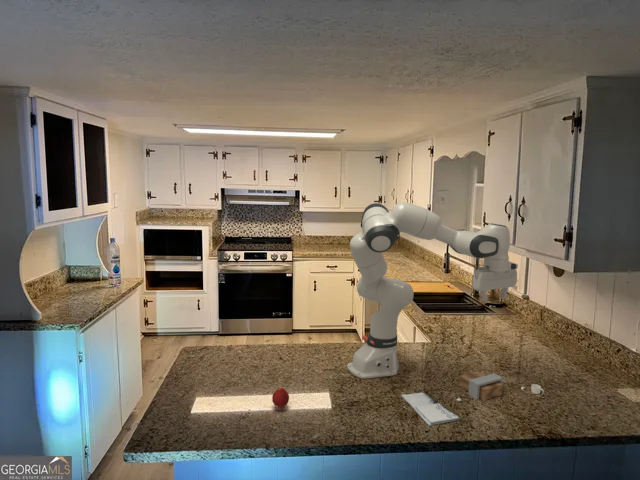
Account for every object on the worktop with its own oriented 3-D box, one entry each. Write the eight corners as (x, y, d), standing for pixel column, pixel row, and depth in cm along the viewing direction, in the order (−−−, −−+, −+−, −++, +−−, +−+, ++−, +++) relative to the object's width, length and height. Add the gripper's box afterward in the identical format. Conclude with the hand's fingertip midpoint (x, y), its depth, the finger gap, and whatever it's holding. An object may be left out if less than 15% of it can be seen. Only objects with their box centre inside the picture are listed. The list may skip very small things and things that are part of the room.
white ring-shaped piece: (516, 392, 156) (517, 382, 156) (532, 388, 159) (533, 378, 158) (536, 403, 148) (536, 393, 148) (552, 399, 151) (553, 389, 150)
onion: (280, 401, 148) (280, 380, 147) (292, 407, 144) (292, 385, 143) (269, 408, 144) (268, 387, 143) (280, 414, 140) (280, 392, 139)
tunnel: (476, 400, 148) (477, 384, 147) (468, 395, 151) (469, 379, 150) (501, 393, 153) (502, 377, 152) (493, 388, 156) (494, 373, 156)
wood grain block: (483, 400, 147) (484, 389, 146) (459, 385, 158) (459, 375, 157) (502, 395, 151) (502, 384, 150) (476, 380, 161) (477, 371, 161)
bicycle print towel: (429, 427, 134) (429, 421, 133) (400, 397, 153) (400, 391, 153) (479, 418, 139) (479, 412, 139) (445, 390, 158) (445, 384, 158)
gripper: (482, 268, 154) (480, 304, 155) (521, 264, 162) (518, 298, 164) (469, 265, 159) (467, 300, 161) (507, 261, 168) (505, 294, 170)
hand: (493, 299), depth 163 cm, fingers open, 8 cm apart
